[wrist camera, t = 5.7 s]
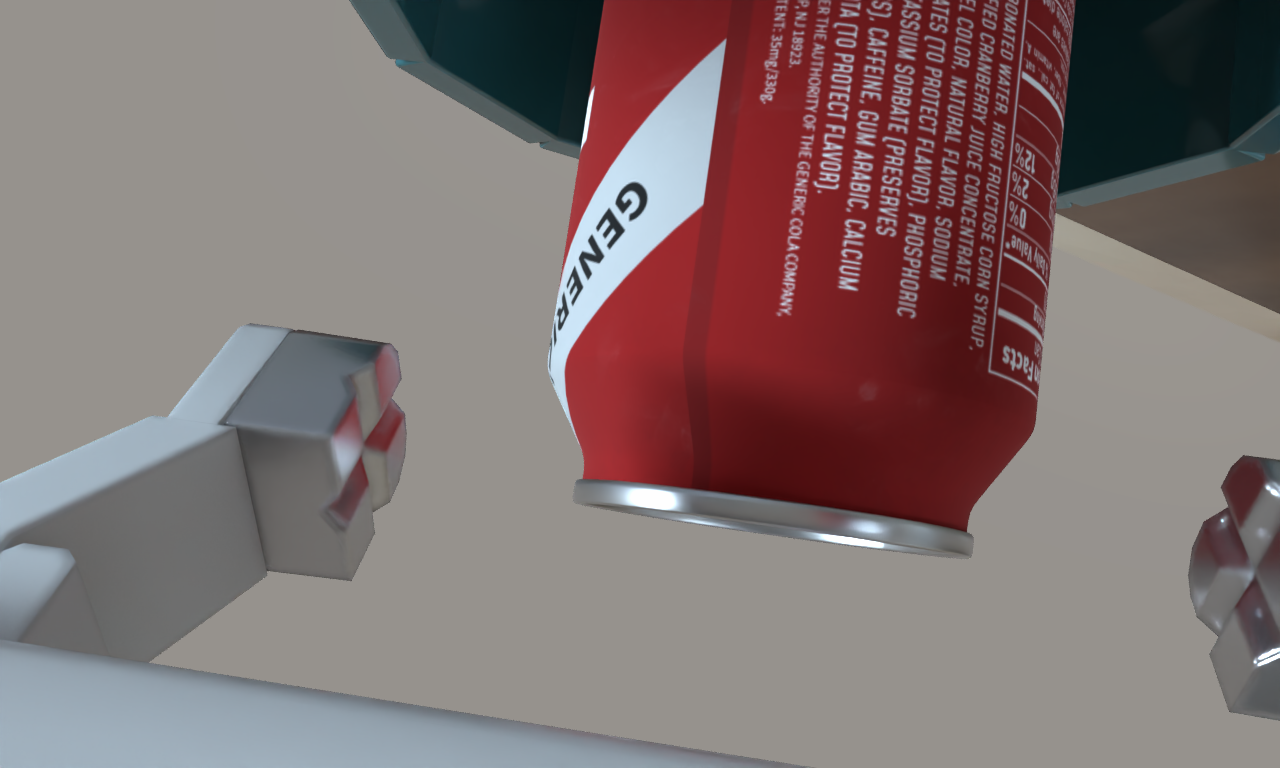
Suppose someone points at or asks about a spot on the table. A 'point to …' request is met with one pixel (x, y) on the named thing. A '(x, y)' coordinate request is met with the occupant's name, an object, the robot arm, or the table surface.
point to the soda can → (812, 262)
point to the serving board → (1205, 227)
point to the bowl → (1095, 103)
